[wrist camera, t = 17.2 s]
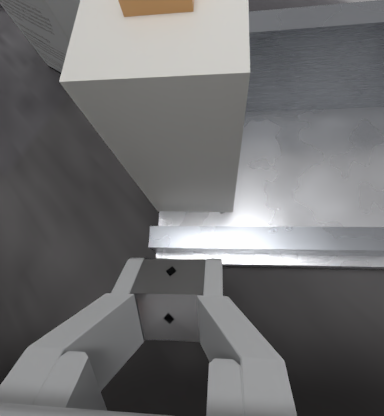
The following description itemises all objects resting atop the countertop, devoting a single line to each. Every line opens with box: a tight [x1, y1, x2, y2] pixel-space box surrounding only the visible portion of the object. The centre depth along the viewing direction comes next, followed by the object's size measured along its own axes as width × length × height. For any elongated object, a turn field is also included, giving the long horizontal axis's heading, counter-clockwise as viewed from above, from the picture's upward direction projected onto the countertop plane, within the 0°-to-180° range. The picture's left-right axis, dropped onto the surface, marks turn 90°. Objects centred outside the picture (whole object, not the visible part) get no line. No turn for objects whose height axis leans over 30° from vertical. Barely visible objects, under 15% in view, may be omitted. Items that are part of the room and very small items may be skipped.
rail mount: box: [149, 0, 384, 270], centre depth 12 cm, size 16×10×6 cm, turn 88°
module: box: [59, 0, 250, 212], centre depth 10 cm, size 4×6×10 cm, turn 177°
